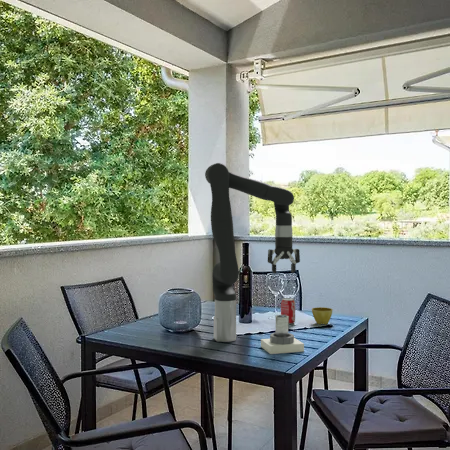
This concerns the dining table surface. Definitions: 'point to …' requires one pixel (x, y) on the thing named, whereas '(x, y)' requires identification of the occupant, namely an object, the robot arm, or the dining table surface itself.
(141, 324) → the dining table surface
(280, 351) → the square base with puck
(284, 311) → the soda can
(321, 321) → the flower pot
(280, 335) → the pale grey cylinder
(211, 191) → the robot arm
